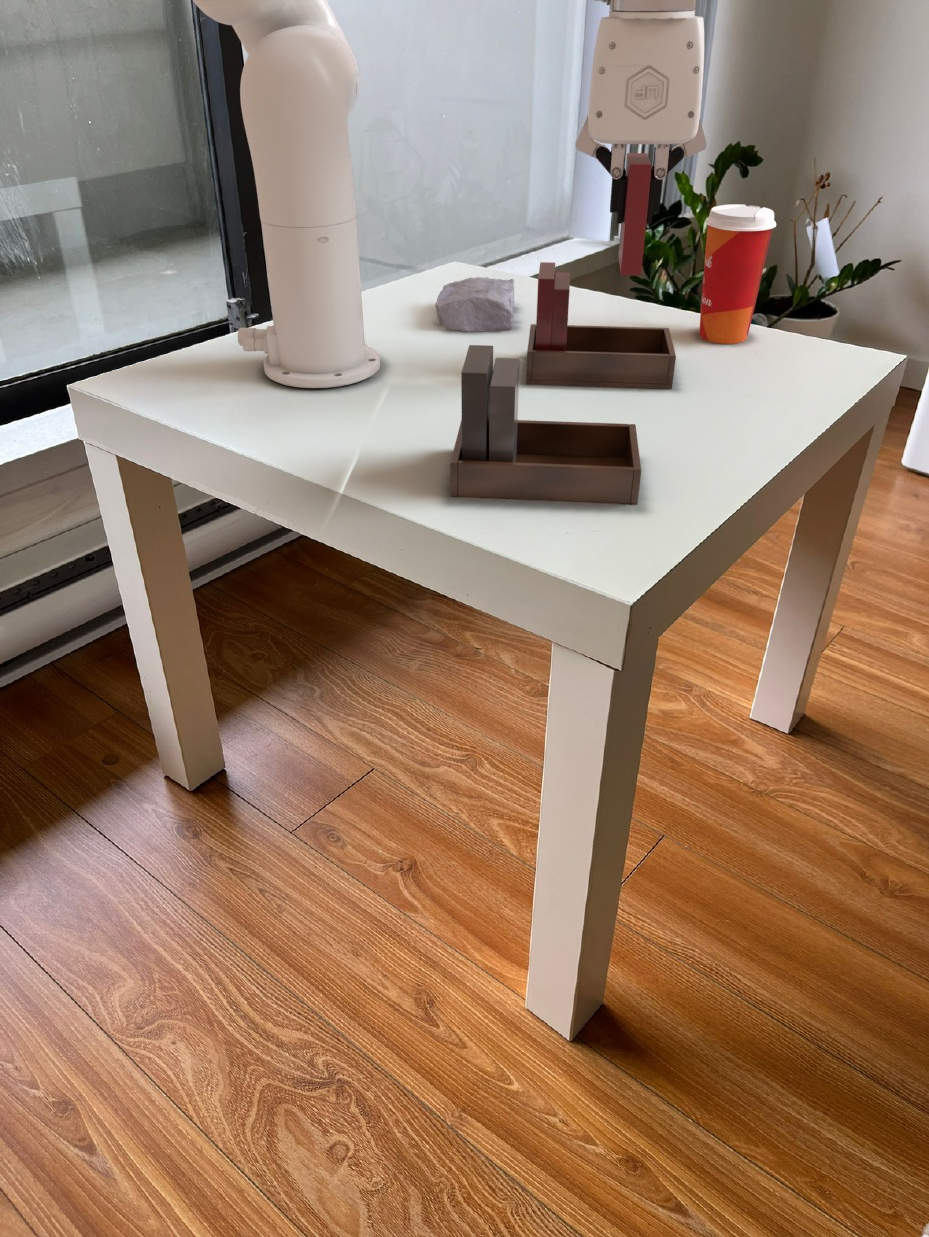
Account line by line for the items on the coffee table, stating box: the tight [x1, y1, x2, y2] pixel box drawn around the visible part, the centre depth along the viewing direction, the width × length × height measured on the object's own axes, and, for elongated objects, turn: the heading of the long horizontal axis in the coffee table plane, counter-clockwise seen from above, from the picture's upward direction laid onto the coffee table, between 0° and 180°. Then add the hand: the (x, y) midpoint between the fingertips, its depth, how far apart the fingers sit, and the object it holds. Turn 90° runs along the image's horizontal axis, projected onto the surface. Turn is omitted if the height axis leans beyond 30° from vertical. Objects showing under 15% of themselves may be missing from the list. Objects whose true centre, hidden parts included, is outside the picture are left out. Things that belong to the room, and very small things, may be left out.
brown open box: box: [525, 261, 677, 390], centre depth 99 cm, size 15×9×10 cm, turn 84°
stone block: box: [434, 276, 515, 333], centre depth 117 cm, size 12×5×10 cm
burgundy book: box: [617, 152, 653, 276], centre depth 92 cm, size 2×6×10 cm, turn 174°
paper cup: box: [699, 203, 777, 345], centre depth 107 cm, size 8×8×14 cm
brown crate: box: [449, 344, 642, 506], centre depth 77 cm, size 15×9×10 cm, turn 84°
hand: (633, 219), depth 93 cm, fingers closed on burgundy book, 2 cm apart
